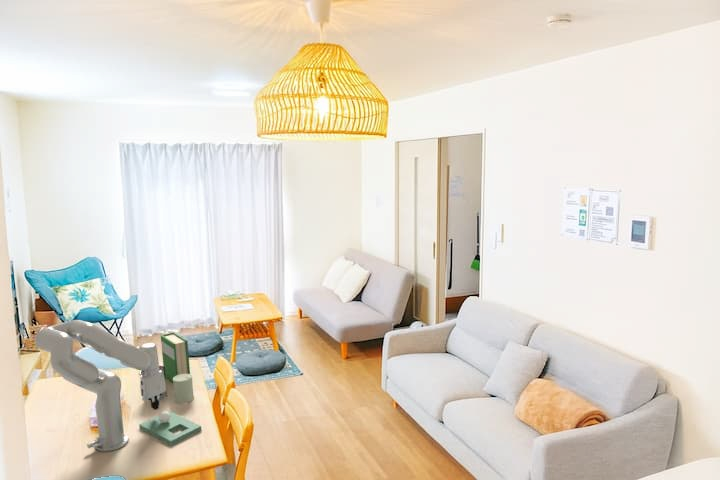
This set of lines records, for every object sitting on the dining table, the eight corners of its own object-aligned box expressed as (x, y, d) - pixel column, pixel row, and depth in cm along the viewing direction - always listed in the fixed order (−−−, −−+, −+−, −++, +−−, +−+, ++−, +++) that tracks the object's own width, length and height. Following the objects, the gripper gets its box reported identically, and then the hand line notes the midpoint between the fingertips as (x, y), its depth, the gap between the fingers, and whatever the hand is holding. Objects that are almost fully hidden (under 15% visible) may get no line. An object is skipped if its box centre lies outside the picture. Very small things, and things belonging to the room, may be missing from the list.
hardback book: (190, 383, 281) (187, 340, 277) (177, 387, 276) (173, 343, 272) (177, 373, 294) (174, 332, 290) (164, 377, 289) (160, 335, 285)
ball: (162, 426, 233) (161, 415, 232) (156, 423, 236) (155, 412, 235) (172, 421, 237) (172, 411, 236) (166, 418, 240) (165, 408, 239)
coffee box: (168, 396, 266) (165, 366, 264) (159, 402, 260) (156, 371, 258) (154, 393, 270) (151, 363, 267) (144, 399, 264) (141, 368, 261)
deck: (171, 445, 221) (170, 441, 221) (139, 428, 236) (139, 424, 235) (201, 430, 233) (201, 425, 233) (169, 414, 247) (169, 410, 247)
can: (188, 404, 257) (186, 381, 255) (170, 402, 259) (168, 379, 257) (197, 395, 266) (195, 373, 264) (180, 394, 268) (178, 372, 266)
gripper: (139, 379, 230) (145, 418, 233) (170, 366, 241) (174, 403, 245) (130, 375, 234) (135, 413, 238) (160, 362, 246) (165, 399, 249)
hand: (155, 408), depth 241 cm, fingers closed
